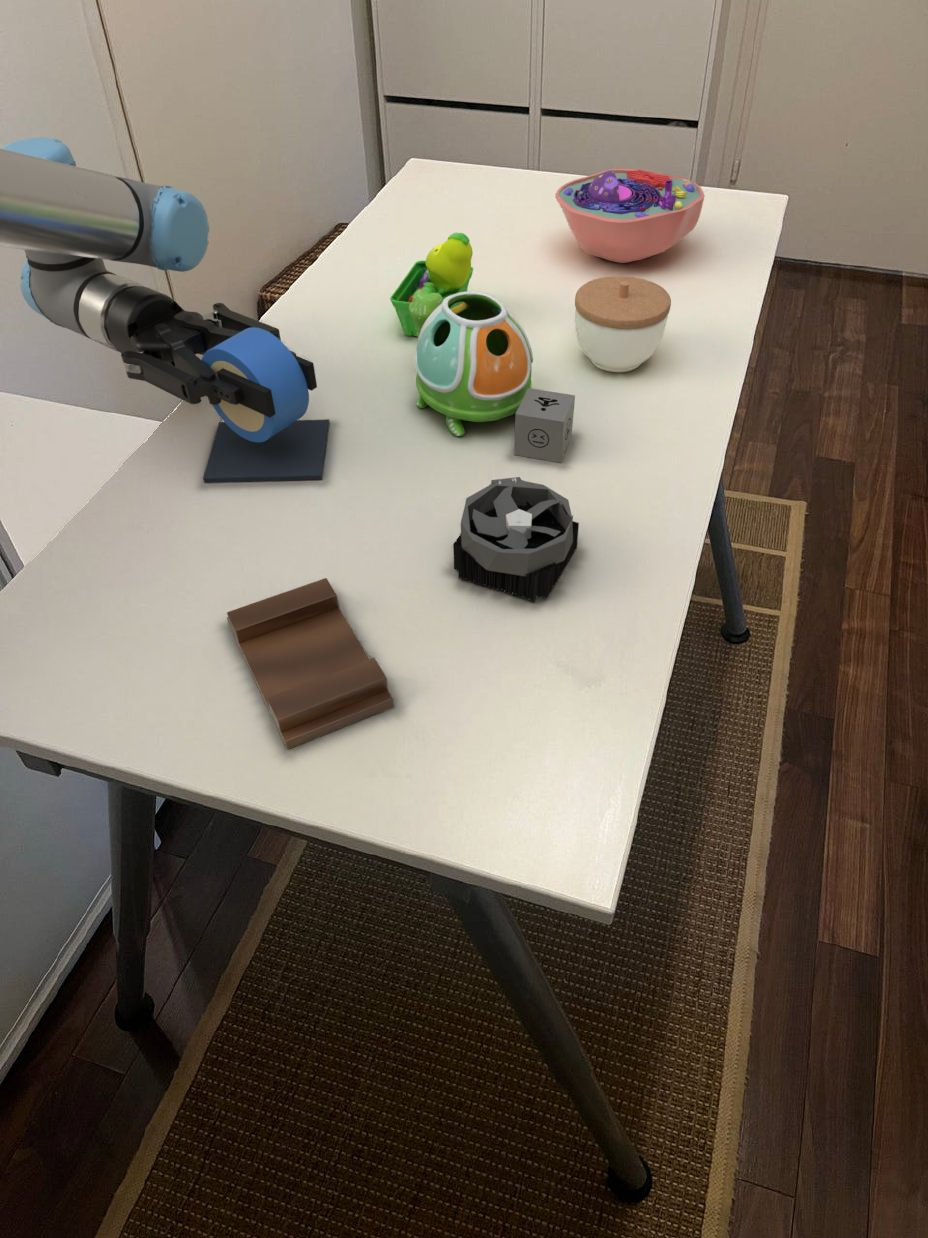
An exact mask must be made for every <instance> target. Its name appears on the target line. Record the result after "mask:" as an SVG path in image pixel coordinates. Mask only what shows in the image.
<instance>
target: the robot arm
mask: <svg viewBox="0 0 928 1238" xmlns="http://www.w3.org/2000/svg"><path fill="white" fill-rule="evenodd" d="M209 233H210V223H209V218H208V214H207V212H206V208H205V207H204V205H203V204H202V202H201V201H200V200H199V199H198V198H197V197H196V196H195V195H194V194H193V193H190V192H188V191H185V190H180V189H176V188H174V187H172V186H169V185H158V184H152V183H147V182H143V181H139V180H135V179H131V178H126V177H122V176H116V175H112V174H109V173H105V172H101V171H97V170H93V169H88V168H84V167H80V166H77V163H76V161H75V159H74V157H73V155H72V152H71V149H70V147H68V145H66V144H65V143H63V141H62V140H60V139H57V138H53V137H44V136H43V137H29V138H23V139H18V140H16V141H12V142H10V143H8V144H6V145H4V146H2V147H1V148H0V248H6V249H13V250H14V249H15V250H23V251H24V253H25V257H26V261H25V262H24V265H23V266H22V269H21V273H20V274H21V277H20V278H21V279H20V285H19V286H20V291H21V295H22V296H23V299H24V301H25V302H26V304H27V305H28V306H29V307H30V308H31V309H32V310H33V311H34V312H35V313H37V314H39V315H40V316H42V317H43V318H44V319H47V320H48V321H49V322H50V323H53V324H54V325H55V326H58V327H61V328H64V329H68V330H69V331H72V332H74V333H76V334H78V335H81V336H83V337H85V338H87V339H90V340H92V341H93V342H95V343H98V344H100V345H102V346H104V347H107V348H109V349H111V350H113V351H115V352H118V353H120V356H121V360H122V363H123V367H124V370H125V372H126V376H127V378H128V379H130V380H136V381H142V382H146V383H148V384H150V385H152V386H154V387H156V388H158V389H160V390H162V391H164V392H166V393H168V394H170V395H172V396H174V397H176V398H178V399H180V400H182V401H184V402H186V403H188V404H190V405H199V404H200V403H201V402H202V398H205V397H207V399H208V402H209V404H210V405H211V406H212V405H217V404H219V403H221V399H222V400H224V401H226V402H228V403H230V404H234V405H237V404H241V405H244V406H246V407H248V408H250V409H252V410H254V411H256V412H259V413H261V414H263V415H265V416H267V417H269V418H271V417H272V416H274V415H275V414H276V413H275V408H274V403H273V398H272V392H271V389H269V388H266V387H264V386H262V385H260V384H257V383H255V382H253V381H251V380H248V379H246V378H244V377H242V376H239V375H237V374H235V373H233V372H230V371H228V370H226V369H224V368H222V369H221V370H219V371H217V373H218V376H215V372H214V371H213V370H212V369H211V368H210V367H209V366H208V365H206V364H205V363H204V362H203V361H202V358H200V357H199V356H197V355H202V356H203V355H204V354H205V353H206V351H208V350H210V349H211V348H213V347H215V346H217V345H218V344H220V343H222V342H224V341H225V340H227V339H229V338H231V337H232V336H234V335H236V334H238V333H240V332H241V331H243V330H245V329H247V328H252V327H255V328H260V329H264V330H266V331H268V332H270V333H271V334H273V335H274V336H276V337H277V338H278V339H279V340H280V341H281V342H282V339H281V333H280V332H281V331H280V328H277V327H275V326H272V325H269V324H267V323H264V322H262V321H259V320H257V319H254V318H252V317H250V316H247V315H244V314H241V313H239V312H236V311H234V310H231V309H229V307H228V306H226V305H225V304H224V303H222V302H216V303H214V304H212V312H209V313H206V314H203V315H202V314H201V313H200V312H197V311H187V310H185V309H183V307H181V306H180V305H179V303H178V302H176V300H174V299H173V298H172V297H170V296H169V295H168V294H164V293H162V292H160V291H157V290H155V289H152V288H150V287H148V286H145V285H143V284H141V283H139V282H137V281H134V280H132V279H129V278H127V277H124V276H121V275H119V274H117V273H114V272H111V271H110V270H107V268H106V265H105V262H104V260H108V261H112V262H120V263H127V264H134V265H135V264H136V265H142V266H147V267H152V268H157V269H158V270H160V271H174V272H182V273H183V272H184V273H185V272H189V271H191V270H193V269H195V268H196V267H197V266H198V265H199V264H201V262H202V260H203V259H204V257H205V255H206V252H207V250H208V246H209ZM290 352H291V353H292V354H293V356H294V357H295V359H296V360H297V362H298V364H299V365H300V367H301V369H302V372H303V374H304V376H305V379H306V382H307V386H308V391H309V390H310V391H313V390H315V389H316V388H318V383H317V377H316V371H315V370H316V369H315V364H314V361H313V362H312V361H310V360H308V359H305V358H303V357H300V356H298V355H297V354H296V352H295V351H293V350H290Z"/></svg>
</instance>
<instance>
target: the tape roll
mask: <svg viewBox="0 0 928 1238" xmlns="http://www.w3.org/2000/svg"><path fill="white" fill-rule="evenodd" d="M290 351H291V350H290V349H289V347H287V346H286V345H285V343H284V342H283V341H282V340H281V341H280V340H279V339H278V338H277V337H276V336H274V335H273V334H271V333H270V332H268V331H266V330H264V329H260V328H255V327H252V328H247V329H245V330H243V331H241V332H240V333H238V334H236V335H234V336H232V337H231V338H229V339H227V340H225V341H224V342H222V343H220V344H218V345H217V346H215V347H213V348H211V349H210V350H208V351H206V353H205V354H204V355H202V357H201V360H202V361H203V362H204V363H205V364H206V365H208V366H209V367H210V368H211V369H212V370H213V371H214V372H215V376H218V373H217V371H219V370H221V369H222V368H224V369H226V370H228V371H230V372H233V373H235V374H237V375H239V376H242V377H244V378H246V379H248V380H251V381H253V382H255V383H257V384H260V385H262V386H264V387H266V388H269V389H271V392H272V398H273V403H274V408H275V413H276V414H275V415H274V416H272V417H271V418H269V417H267V416H265V415H263V414H261V413H259V412H256V411H254V410H252V409H250V408H248V407H246V406H244V405H241V404H237V405H234V404H230V403H228V402H226V401H224V400H222V399H221V403H219V404H217V405H211V406H212V408H213V409H214V411H215V412H216V413H217V415H218V417H220V419H221V420H222V422H225V423H226V424H227V425H228V426H229V427H230V428H231V429H232V430H233V431H234V432H236V433H237V434H238V435H240V436H241V437H243V438H245V439H247V440H249V441H252V442H259V443H260V442H264V441H267V440H268V439H270V438H271V437H273V436H274V435H276V434H277V433H279V432H280V431H282V430H283V429H285V428H286V427H288V426H289V425H291V424H292V423H294V422H295V421H297V420H301V418H302V417H304V415H305V414H306V412H307V410H308V408H309V403H310V391H309V389H308V386H307V382H306V379H305V376H304V374H303V372H302V369H301V367H300V365H299V364H298V362H297V360H296V359H295V357H294V356H293V354H292V353H291V352H290Z"/></svg>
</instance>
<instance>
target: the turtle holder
mask: <svg viewBox="0 0 928 1238" xmlns="http://www.w3.org/2000/svg"><path fill="white" fill-rule="evenodd" d="M457 302H463V303H462V304H460V305H459V306H457V307H455V308H452V309H449V308H450V307H451V306H452V305H454V304H455V303H457ZM409 313H410V316H411V318H412V320H413V322H414V324H415V327H416V330H417V335H418V337H417V341H416V345H415V350H414V366H415V371H416V378H415V384H416V385H415V386H416V389H417V392H418V394H419V395H418V397H417V400H416V407H417V408H419V409H425V408H426V407H427V406H429V407H430V408H431V409H433V410H435V411H436V412H438V413H440V414H443V415H445V423H446V426H447V429H448V431H449V432H450V433H451V434H452V436H453V435H454V436H455V437H462V436H464V435H465V433H466V432H465V428H464V425H463V423H462V420H463V421H468V422H476V423H477V422H478V423H480V422H481V423H482V422H484V423H485V422H493V421H498V420H500V419H504V418H506V417H509V416H512V415H514V414H516V412H517V410H518V408H519V406H520V404H521V402H522V400H523V398H524V395H525V393H526V391H527V389H528V388H532V389H533V383H532V370H533V369H532V368H533V367H532V364H533V362H534V355H533V350H532V346H531V344H530V340H529V338H528V336H527V334H526V332H525V329H524V328H523V326H522V325H521V323H520V322H519V320H517V319H516V318H515V316H513V315H512V314H511V313H510V311H508V309H507V307H506V306H505V304H504V303H503V302H502V301H501V300H500V299H499V298H497V297H495V296H494V295H492V294H490V293H488V292H484V291H480V290H467V291H466V292H460V293H456V294H453V295H450V296H448V297H446V298H445V299H444V300H443V298H442V296H441V295H440V294H438V293H431V294H430V293H428V292H426V291H423V290H418V291H416V292H415V293H414V295H413V301H412V303H411V304H410V305H409Z"/></svg>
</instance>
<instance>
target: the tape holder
mask: <svg viewBox="0 0 928 1238" xmlns="http://www.w3.org/2000/svg"><path fill="white" fill-rule="evenodd" d="M226 616H227V617H226V621H227V623H228V627H229V628H230V630H231V633H232V635H233V637H234V639H235V641H236V644H237V646H238V647H239V650H240V652H241V654H242V656H243V658H244V660H245V662H246V665H247V668H248V669H249V672H250V673H251V675H252V678H253V680H254V682H255V684H256V686H257V688H258V690H259V692H260V695H261V697H262V699H263V701H264V703H265V705H266V708H267V709H268V712H269V714H270V716H271V719H272V720H273V724H274V725H275V727H276V729H277V731H278V734H279V736H280V738H281V740H282V742H283V744H284V746H285V748H286V749H287V750H290V749H293V748H295V747H297V746H299V745H302V744H304V743H306V742H309V741H312V740H314V739H317V738H319V737H321V736H324V735H327V734H329V733H331V732H334V731H337V730H339V729H342V728H344V727H347V726H349V725H351V724H352V725H353V724H354V723H357V722H359V721H361V720H364V719H367V718H369V717H372V716H374V715H376V714H380V713H381V712H384V711H387V710H389V709H392V708H394V707H395V703H394V698H393V696H392V694H391V693H390V691H389V687H388V686H389V685H388V679H387V676H386V674H385V672H384V671H383V670H382V667H381V666H380V664H379V663H378V661H377V659H376V658H375V657H372V658H371V657H369V656H368V654H367V653H366V651H365V649H364V647H363V645H362V643H361V642H360V641H359V639H358V637H357V635H356V634H355V633H354V631H353V629H352V627H351V625H350V624H349V622H348V621H347V618H346V617H345V615H344V614H343V612H342V610H341V609H340V606H339V599H338V594H337V593H336V591H335V590H334V588H333V586H332V585H331V582H330V581H329V579H328V578H327V577H325V578H322V579H318V580H316V581H313V582H311V583H310V582H309V583H307V584H304V585H302V586H299V587H296V588H293V589H290V590H287V591H284V592H280V593H278V594H275V595H273V596H270V597H267V598H264V599H262V600H258V601H255V602H252V603H250V604H247V605H245V606H240V607H238V608H236V609H232V610H230V611H227V612H226Z"/></svg>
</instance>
